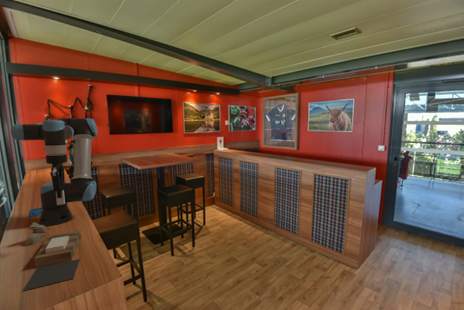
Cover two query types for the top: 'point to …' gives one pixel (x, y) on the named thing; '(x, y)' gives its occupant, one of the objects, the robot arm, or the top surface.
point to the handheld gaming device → (35, 212)
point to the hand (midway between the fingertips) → (61, 204)
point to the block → (57, 244)
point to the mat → (52, 274)
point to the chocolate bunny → (36, 234)
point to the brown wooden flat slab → (58, 256)
